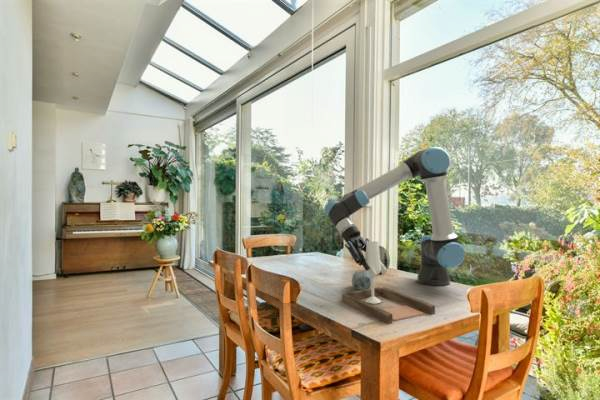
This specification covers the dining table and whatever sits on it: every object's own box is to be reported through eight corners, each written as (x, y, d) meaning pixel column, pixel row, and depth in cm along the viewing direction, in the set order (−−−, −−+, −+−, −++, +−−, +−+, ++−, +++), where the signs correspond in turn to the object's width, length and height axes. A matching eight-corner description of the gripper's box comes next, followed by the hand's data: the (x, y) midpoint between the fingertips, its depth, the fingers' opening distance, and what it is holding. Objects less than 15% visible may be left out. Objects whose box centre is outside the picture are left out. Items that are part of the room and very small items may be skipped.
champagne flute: (363, 298, 147) (363, 241, 146) (379, 298, 147) (379, 241, 146) (365, 303, 140) (365, 243, 140) (382, 303, 140) (382, 243, 140)
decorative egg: (363, 272, 197) (363, 245, 197) (380, 269, 202) (380, 243, 201) (376, 276, 186) (376, 248, 186) (394, 274, 191) (394, 246, 191)
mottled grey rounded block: (375, 287, 153) (365, 265, 156) (356, 296, 154) (345, 275, 157) (376, 286, 166) (367, 267, 169) (358, 295, 167) (349, 275, 170)
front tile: (405, 306, 137) (405, 305, 137) (424, 314, 128) (424, 313, 128) (376, 312, 130) (376, 310, 130) (394, 320, 122) (394, 319, 122)
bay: (382, 293, 155) (382, 286, 155) (434, 313, 129) (434, 305, 129) (340, 300, 145) (340, 293, 145) (387, 323, 119) (387, 315, 119)
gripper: (358, 234, 161) (388, 275, 149) (328, 238, 148) (359, 284, 136) (367, 223, 157) (399, 265, 145) (337, 226, 144) (370, 272, 132)
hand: (380, 274), depth 141 cm, fingers closed on champagne flute, 7 cm apart
